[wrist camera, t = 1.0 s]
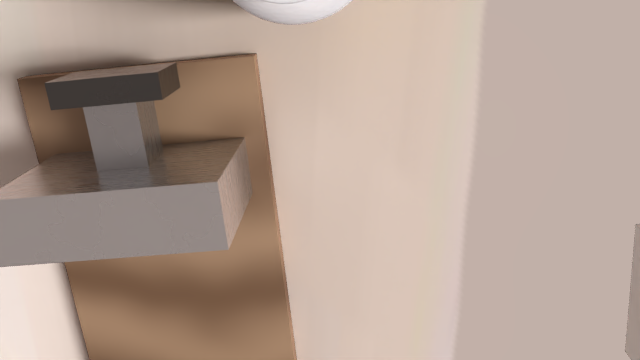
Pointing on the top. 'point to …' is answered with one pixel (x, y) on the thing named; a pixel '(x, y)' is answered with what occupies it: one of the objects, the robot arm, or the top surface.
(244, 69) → the vise bed
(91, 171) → the sliding jaw
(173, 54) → the top surface
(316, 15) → the pill bottle
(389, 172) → the top surface
